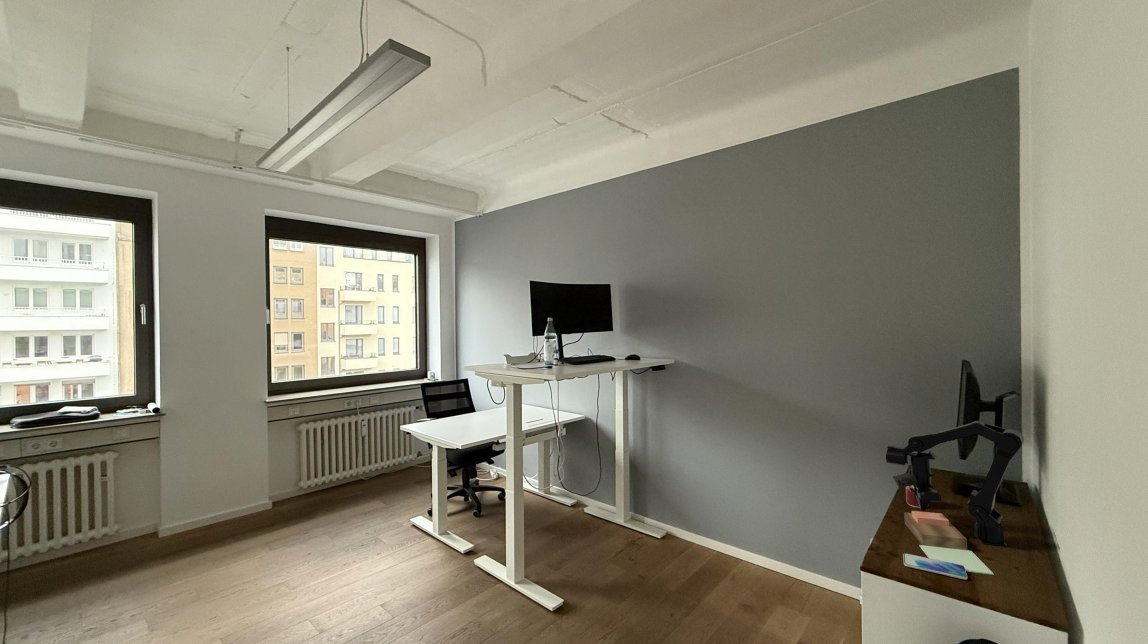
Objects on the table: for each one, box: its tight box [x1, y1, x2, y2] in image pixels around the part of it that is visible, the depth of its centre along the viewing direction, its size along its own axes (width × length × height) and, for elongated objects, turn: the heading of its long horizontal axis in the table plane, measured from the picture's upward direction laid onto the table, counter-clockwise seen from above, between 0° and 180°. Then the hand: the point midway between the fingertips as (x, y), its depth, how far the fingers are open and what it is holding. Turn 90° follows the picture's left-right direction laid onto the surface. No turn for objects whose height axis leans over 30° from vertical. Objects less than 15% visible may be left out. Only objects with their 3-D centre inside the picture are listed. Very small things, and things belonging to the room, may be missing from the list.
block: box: [911, 510, 950, 526], centre depth 159 cm, size 9×6×2 cm, turn 69°
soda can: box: [905, 485, 930, 509], centre depth 181 cm, size 7×7×12 cm
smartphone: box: [902, 552, 968, 581], centre depth 136 cm, size 7×1×15 cm
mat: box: [919, 544, 995, 576], centre depth 141 cm, size 14×14×1 cm
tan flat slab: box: [903, 512, 968, 550], centre depth 156 cm, size 12×18×4 cm, turn 159°
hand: (922, 510), depth 165 cm, fingers closed
